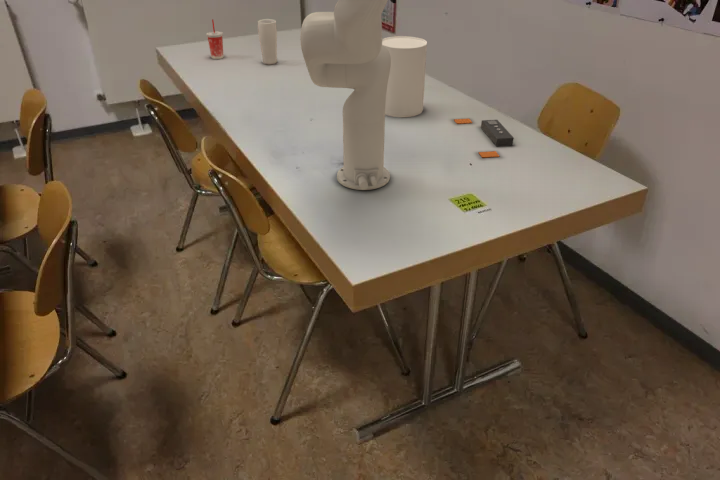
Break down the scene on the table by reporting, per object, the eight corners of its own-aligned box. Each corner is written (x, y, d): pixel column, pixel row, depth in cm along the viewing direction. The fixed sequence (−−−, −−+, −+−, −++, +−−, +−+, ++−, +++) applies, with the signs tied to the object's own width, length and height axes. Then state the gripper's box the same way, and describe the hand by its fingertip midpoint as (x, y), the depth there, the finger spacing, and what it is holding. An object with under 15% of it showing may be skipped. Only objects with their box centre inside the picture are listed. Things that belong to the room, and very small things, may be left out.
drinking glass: (258, 61, 217) (254, 20, 208) (275, 59, 219) (272, 18, 211) (264, 66, 211) (260, 24, 203) (281, 64, 214) (278, 22, 206)
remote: (512, 145, 153) (514, 136, 152) (496, 146, 152) (497, 137, 151) (496, 126, 164) (497, 118, 162) (480, 127, 163) (481, 119, 162)
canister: (371, 104, 178) (372, 38, 167) (411, 99, 182) (414, 34, 171) (388, 119, 168) (391, 50, 157) (430, 113, 172) (435, 45, 161)
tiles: (499, 157, 147) (499, 155, 147) (482, 158, 146) (482, 157, 146) (469, 119, 168) (469, 118, 168) (453, 120, 168) (454, 119, 168)
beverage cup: (208, 55, 223) (203, 18, 215) (224, 54, 224) (220, 17, 217) (210, 60, 218) (204, 21, 210) (226, 58, 219) (221, 20, 212)
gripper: (339, -76, 124) (340, 7, 133) (416, -77, 127) (412, 5, 136) (333, -79, 130) (335, 1, 140) (407, -81, 133) (404, -2, 142)
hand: (373, 3), depth 138 cm, fingers open, 9 cm apart
